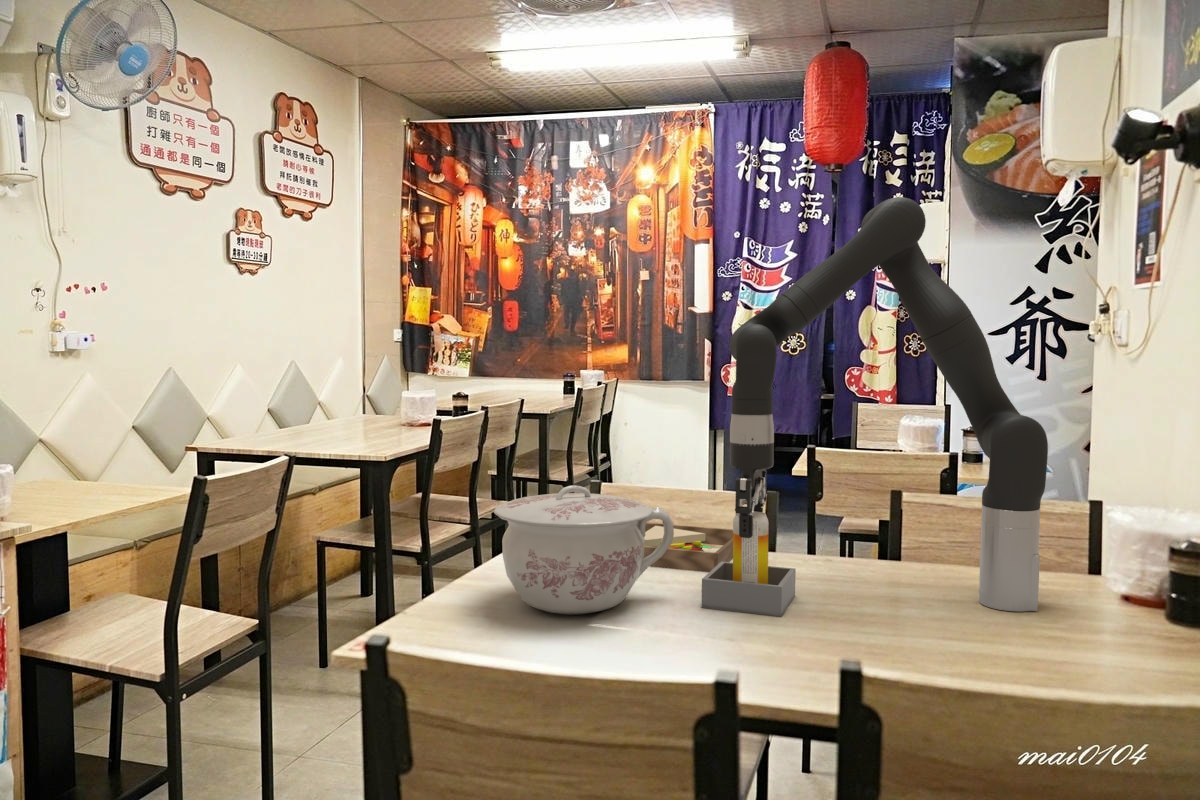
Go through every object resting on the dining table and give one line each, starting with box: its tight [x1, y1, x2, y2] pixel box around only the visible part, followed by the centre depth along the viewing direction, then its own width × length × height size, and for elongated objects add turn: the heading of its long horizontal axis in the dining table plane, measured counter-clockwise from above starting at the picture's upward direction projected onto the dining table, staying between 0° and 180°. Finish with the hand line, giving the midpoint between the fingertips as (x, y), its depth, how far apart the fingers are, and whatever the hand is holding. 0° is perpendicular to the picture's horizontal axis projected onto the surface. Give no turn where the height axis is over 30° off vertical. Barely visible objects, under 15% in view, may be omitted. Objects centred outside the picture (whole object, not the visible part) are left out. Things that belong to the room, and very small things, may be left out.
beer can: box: [732, 511, 769, 584], centre depth 161 cm, size 6×6×15 cm
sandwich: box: [644, 526, 712, 551], centre depth 197 cm, size 15×20×5 cm
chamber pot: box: [493, 484, 674, 616], centre depth 159 cm, size 28×28×21 cm
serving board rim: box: [643, 522, 733, 573], centre depth 197 cm, size 24×24×4 cm
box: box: [701, 561, 797, 618], centre depth 162 cm, size 14×14×5 cm
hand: (751, 532), depth 161 cm, fingers open, 8 cm apart
